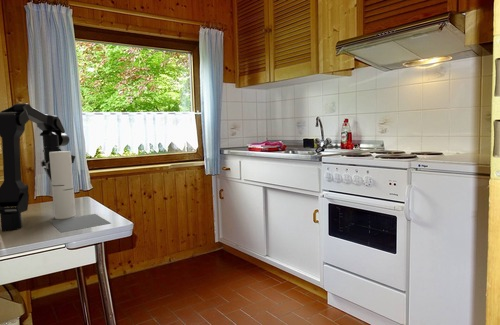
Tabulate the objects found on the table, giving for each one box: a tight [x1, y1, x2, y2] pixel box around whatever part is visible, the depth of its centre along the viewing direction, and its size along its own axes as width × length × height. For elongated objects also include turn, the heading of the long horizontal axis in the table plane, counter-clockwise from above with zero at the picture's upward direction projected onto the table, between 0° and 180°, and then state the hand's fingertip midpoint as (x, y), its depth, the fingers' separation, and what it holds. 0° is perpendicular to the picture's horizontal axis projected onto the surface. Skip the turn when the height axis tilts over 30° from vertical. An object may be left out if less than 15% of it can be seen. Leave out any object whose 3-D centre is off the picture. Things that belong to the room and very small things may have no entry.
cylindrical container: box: [49, 150, 77, 220], centre depth 134 cm, size 7×7×25 cm
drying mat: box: [49, 213, 112, 233], centre depth 125 cm, size 20×16×1 cm
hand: (54, 184), depth 147 cm, fingers closed
